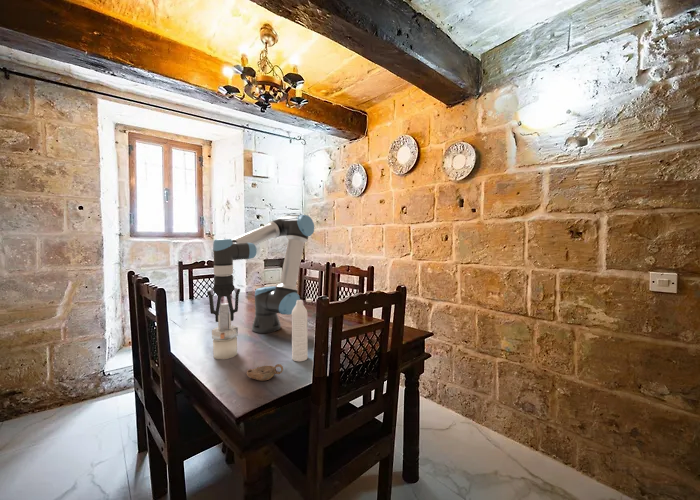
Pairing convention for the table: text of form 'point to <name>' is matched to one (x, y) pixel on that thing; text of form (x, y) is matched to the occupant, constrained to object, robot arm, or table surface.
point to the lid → (224, 325)
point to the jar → (225, 348)
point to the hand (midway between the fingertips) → (224, 328)
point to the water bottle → (299, 332)
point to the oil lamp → (264, 372)
